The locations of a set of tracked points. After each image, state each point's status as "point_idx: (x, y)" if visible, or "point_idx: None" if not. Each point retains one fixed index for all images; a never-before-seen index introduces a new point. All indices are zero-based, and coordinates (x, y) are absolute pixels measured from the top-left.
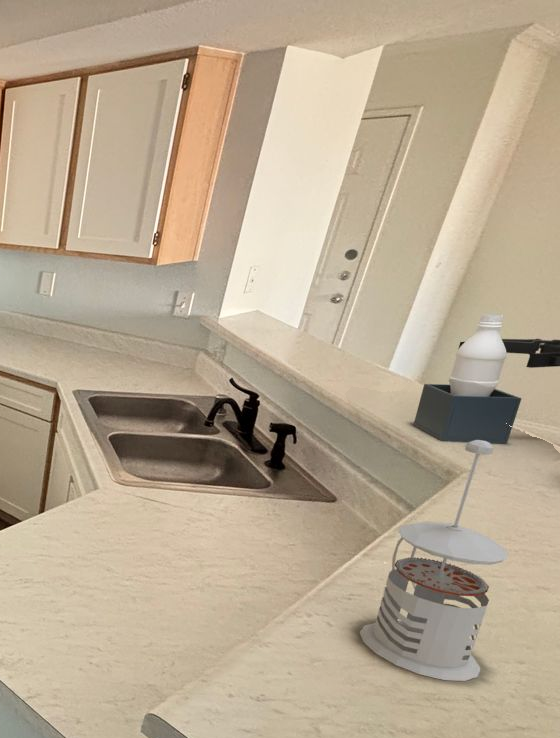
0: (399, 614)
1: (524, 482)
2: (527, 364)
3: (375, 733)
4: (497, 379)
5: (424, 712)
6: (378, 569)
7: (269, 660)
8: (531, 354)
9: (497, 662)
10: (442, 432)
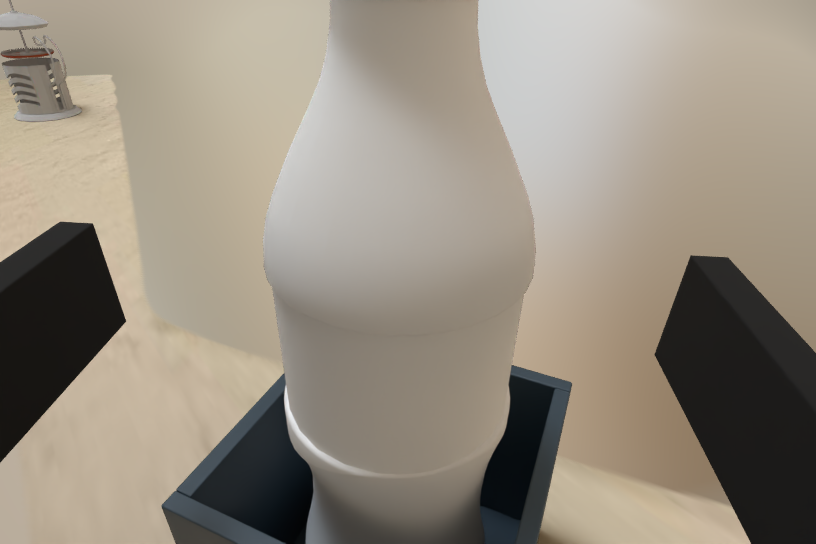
0: (49, 75)
1: None
2: (117, 304)
3: None
4: (289, 399)
5: None
6: (107, 135)
7: (103, 91)
8: (85, 227)
9: (7, 123)
10: None
